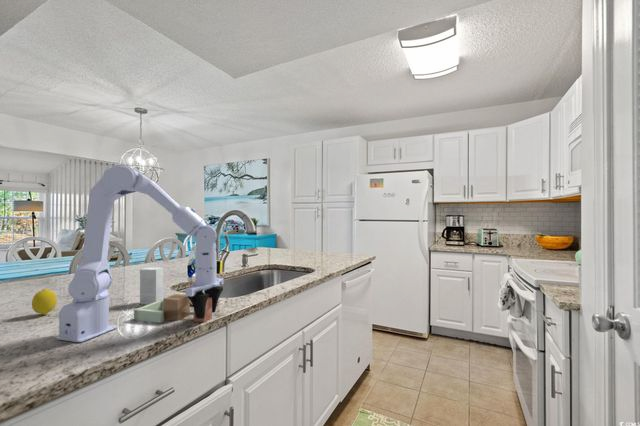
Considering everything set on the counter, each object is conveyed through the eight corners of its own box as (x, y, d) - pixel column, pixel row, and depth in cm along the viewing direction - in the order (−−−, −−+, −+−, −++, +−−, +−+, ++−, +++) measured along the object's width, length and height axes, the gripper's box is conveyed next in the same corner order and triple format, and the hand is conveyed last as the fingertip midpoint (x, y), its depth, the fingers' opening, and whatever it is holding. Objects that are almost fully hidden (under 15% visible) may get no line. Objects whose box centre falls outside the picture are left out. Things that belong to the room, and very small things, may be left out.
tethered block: (202, 323, 80) (202, 301, 80) (163, 319, 83) (163, 298, 84) (213, 317, 85) (213, 296, 85) (175, 313, 88) (175, 294, 88)
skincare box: (164, 301, 102) (164, 267, 102) (155, 305, 97) (156, 269, 97) (147, 300, 102) (147, 267, 102) (139, 304, 98) (139, 269, 98)
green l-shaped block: (160, 322, 81) (160, 312, 81) (134, 320, 83) (134, 309, 83) (186, 311, 90) (186, 301, 90) (161, 309, 93) (161, 299, 93)
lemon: (41, 318, 85) (41, 291, 85) (26, 317, 86) (26, 290, 86) (61, 312, 90) (61, 287, 90) (47, 311, 91) (47, 286, 91)
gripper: (201, 273, 75) (201, 325, 75) (232, 264, 89) (232, 308, 89) (178, 271, 77) (178, 323, 76) (212, 263, 91) (212, 306, 91)
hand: (206, 315), depth 83 cm, fingers open, 4 cm apart
